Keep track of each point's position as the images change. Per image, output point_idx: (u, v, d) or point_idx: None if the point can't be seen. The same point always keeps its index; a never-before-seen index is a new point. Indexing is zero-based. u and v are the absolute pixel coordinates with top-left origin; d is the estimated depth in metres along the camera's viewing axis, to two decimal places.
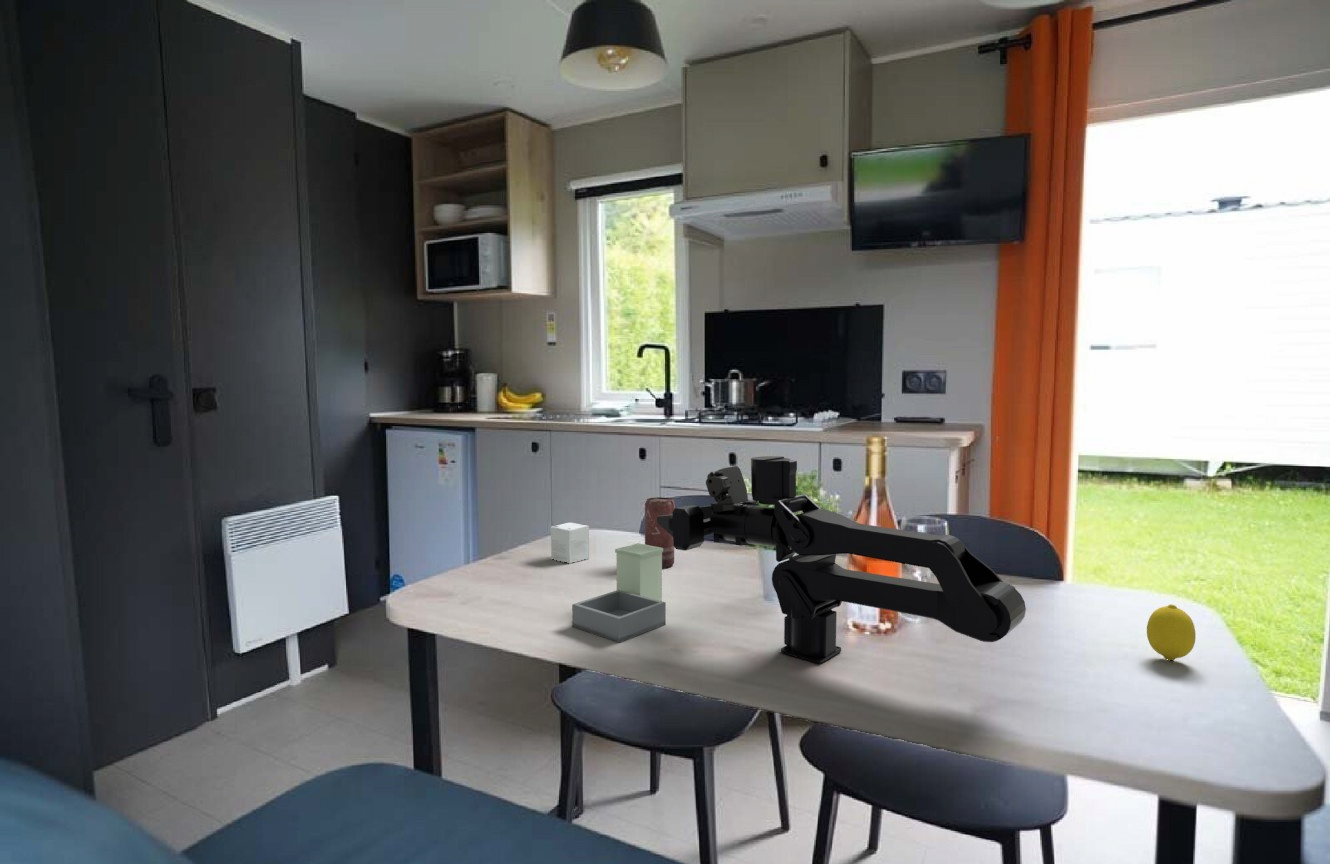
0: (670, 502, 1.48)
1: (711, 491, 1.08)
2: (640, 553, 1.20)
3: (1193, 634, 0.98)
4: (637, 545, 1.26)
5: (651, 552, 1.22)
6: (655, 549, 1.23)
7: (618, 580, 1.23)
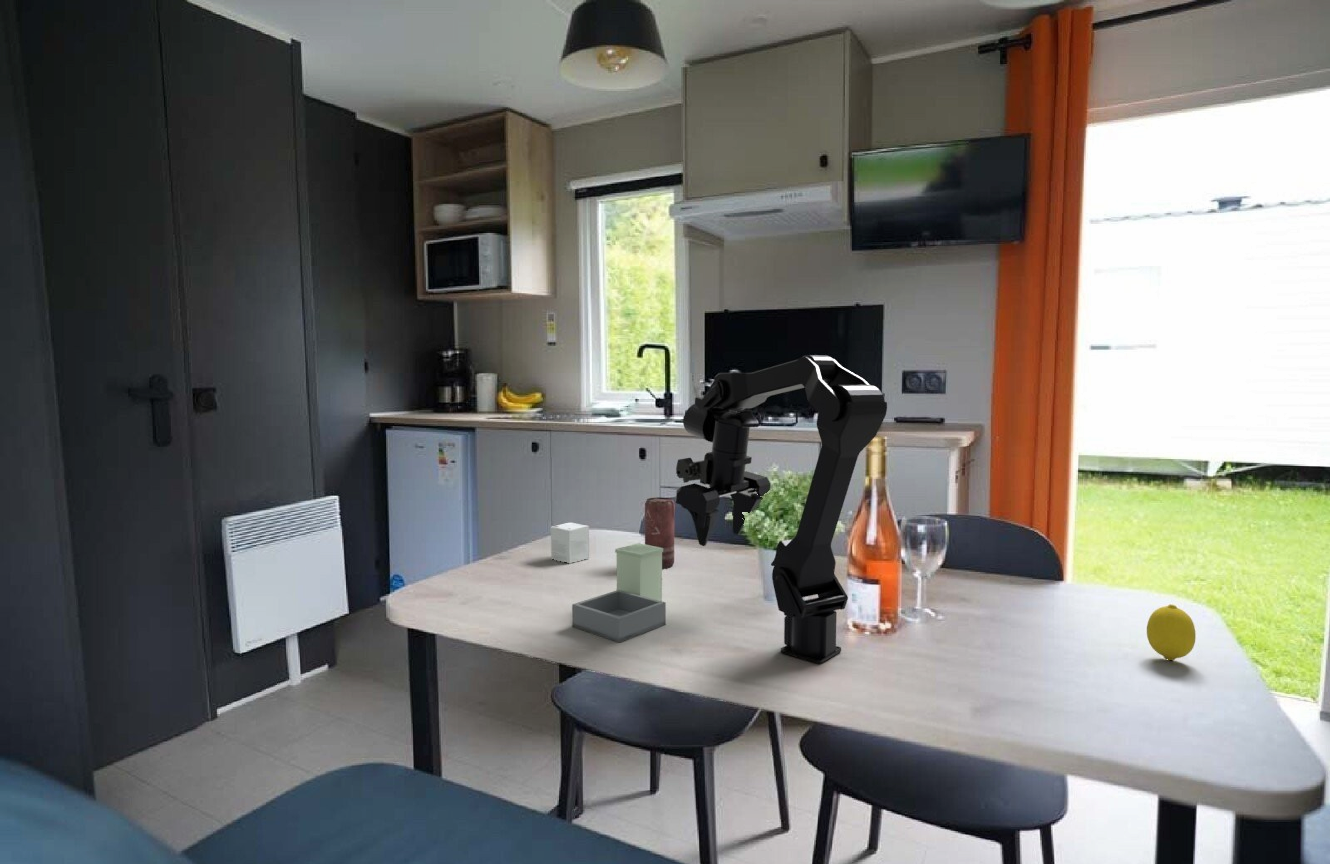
0: (670, 502, 1.48)
1: (685, 473, 1.19)
2: (640, 553, 1.20)
3: (1193, 634, 0.98)
4: (637, 545, 1.26)
5: (651, 552, 1.22)
6: (655, 549, 1.23)
7: (618, 580, 1.23)
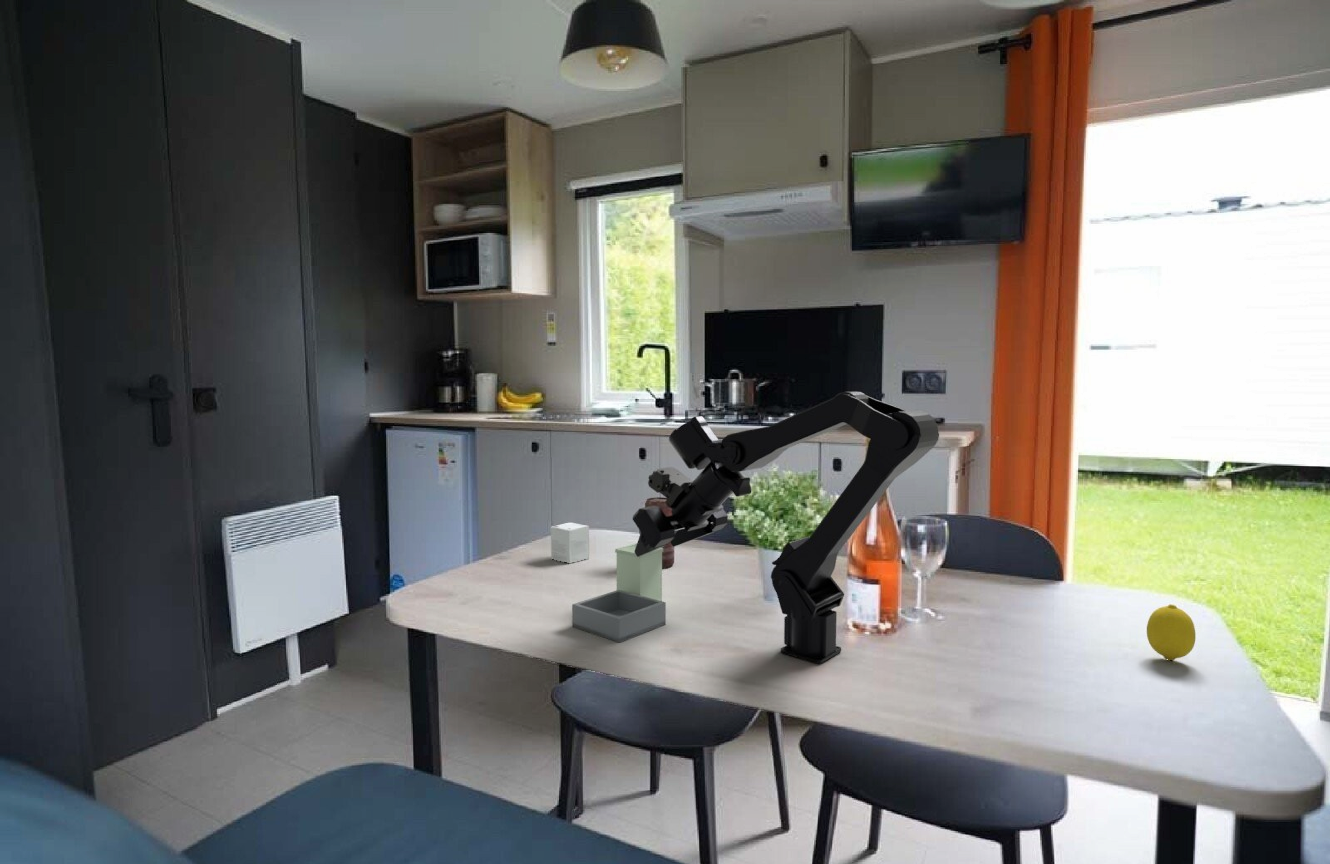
0: None
1: (656, 488, 1.15)
2: None
3: (1193, 634, 0.98)
4: None
5: (651, 552, 1.22)
6: None
7: (618, 580, 1.23)
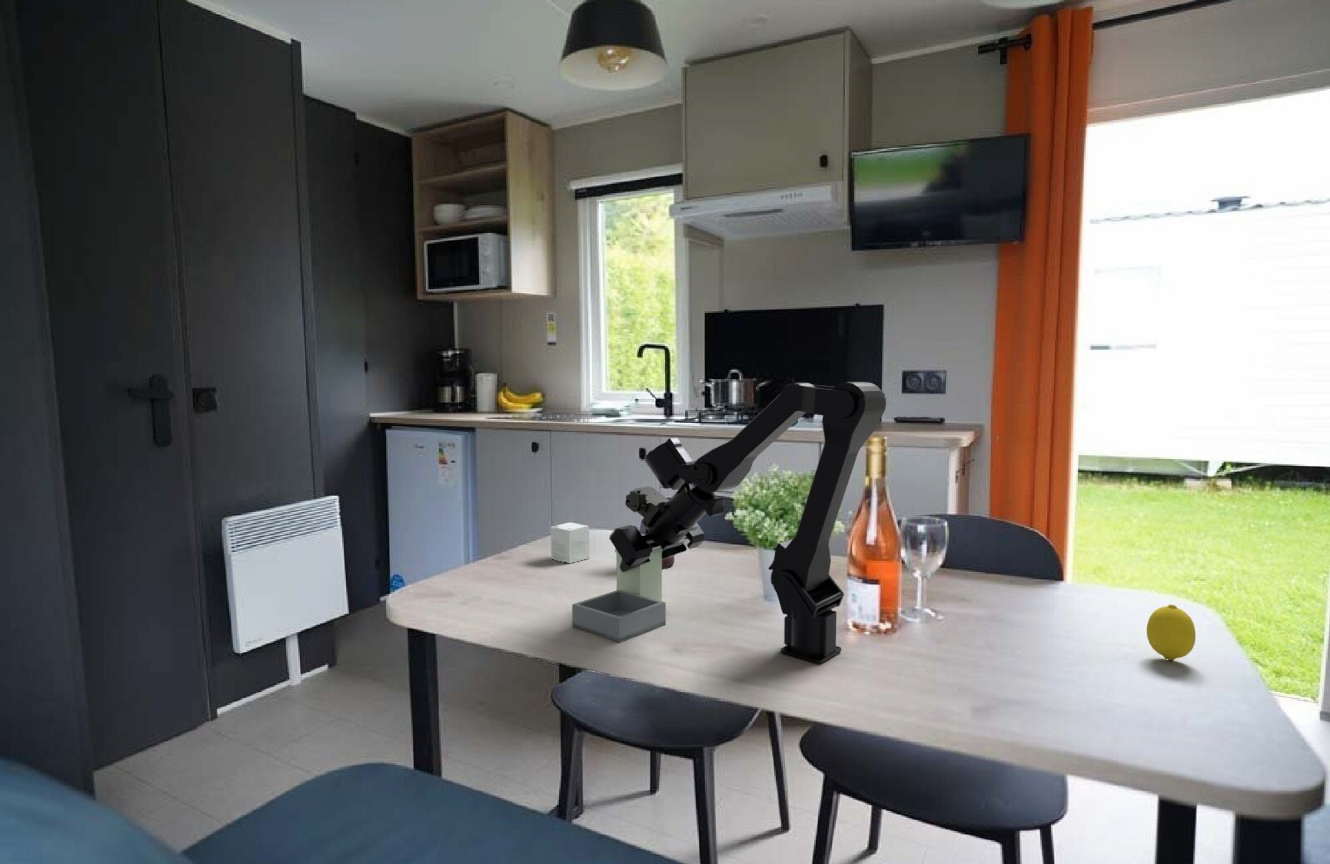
0: None
1: (633, 507, 1.18)
2: None
3: (1193, 634, 0.98)
4: None
5: None
6: (655, 549, 1.23)
7: (618, 580, 1.23)
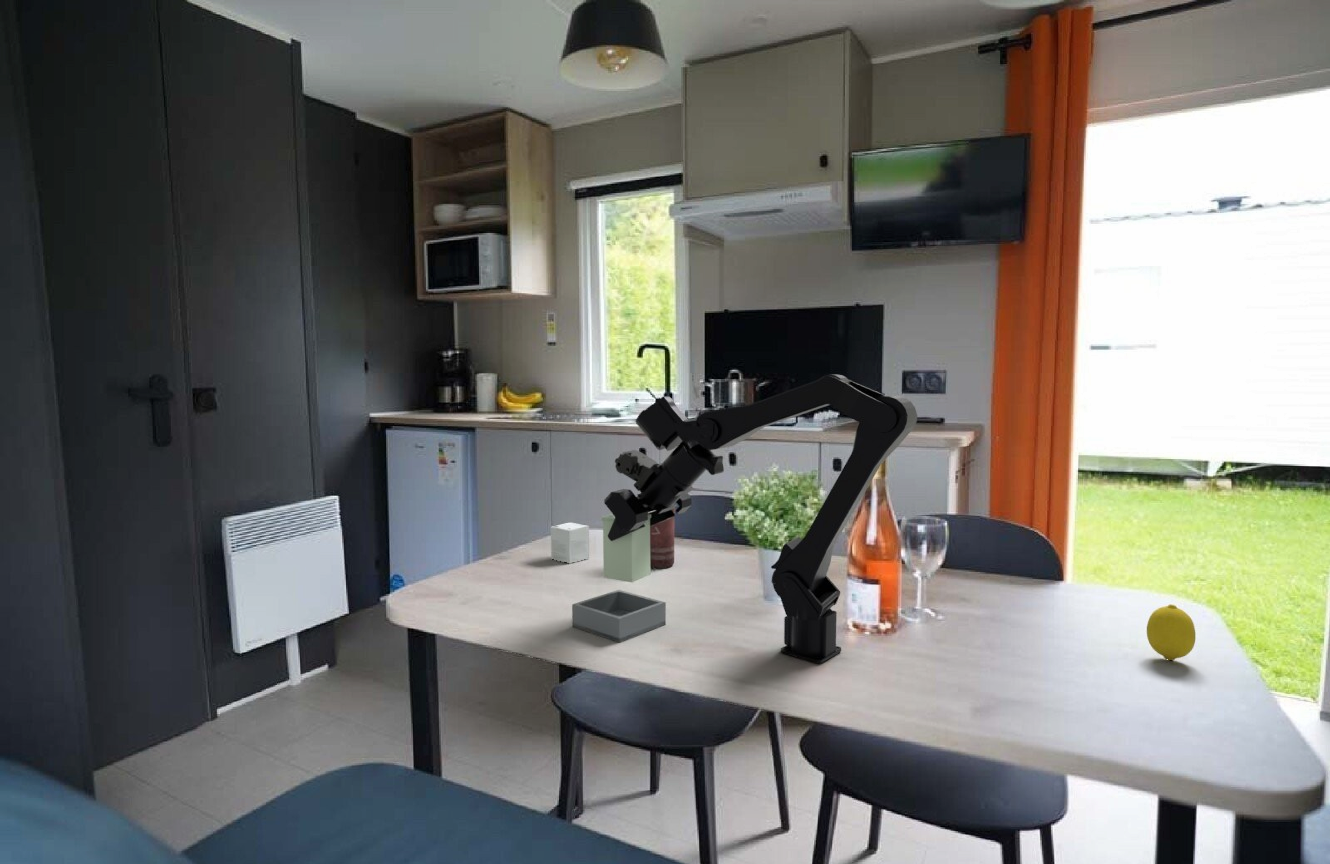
0: None
1: (625, 471, 1.12)
2: None
3: (1193, 634, 0.98)
4: None
5: None
6: None
7: (605, 550, 1.17)
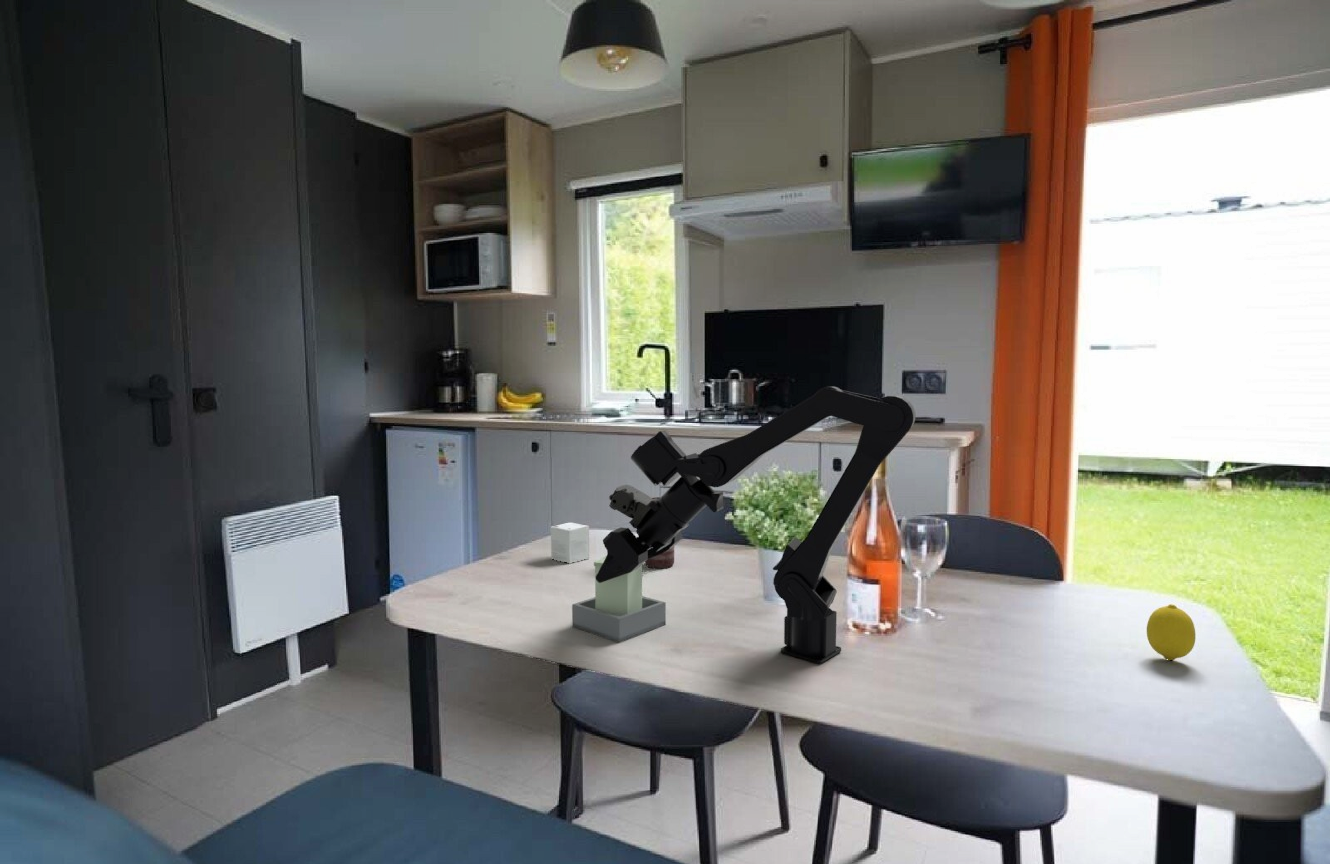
0: None
1: (621, 508, 1.08)
2: None
3: (1193, 634, 0.98)
4: None
5: None
6: None
7: (598, 596, 1.12)
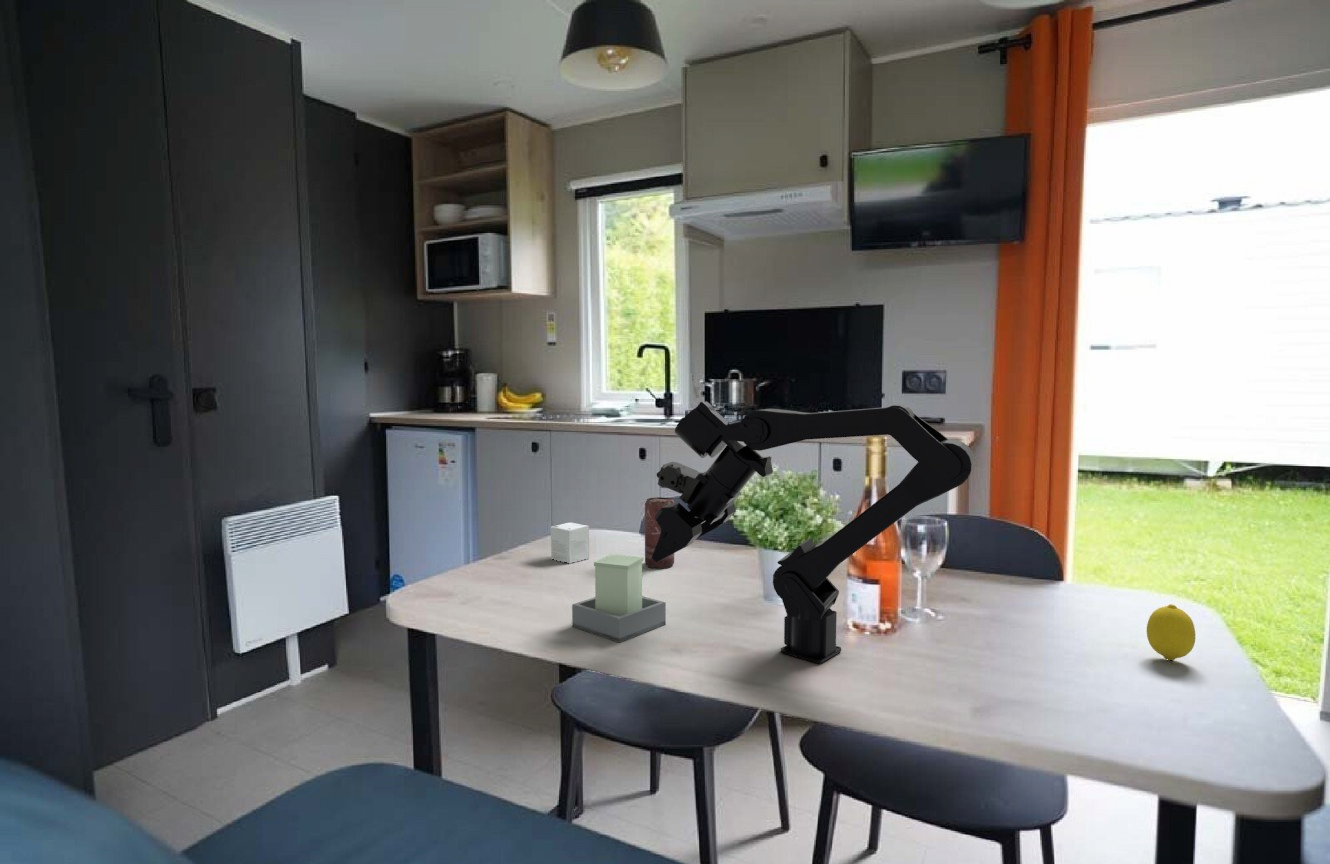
0: (670, 502, 1.48)
1: (670, 484, 1.07)
2: (626, 564, 1.10)
3: (1193, 634, 0.98)
4: (612, 556, 1.15)
5: (635, 562, 1.12)
6: (637, 559, 1.14)
7: (598, 596, 1.12)
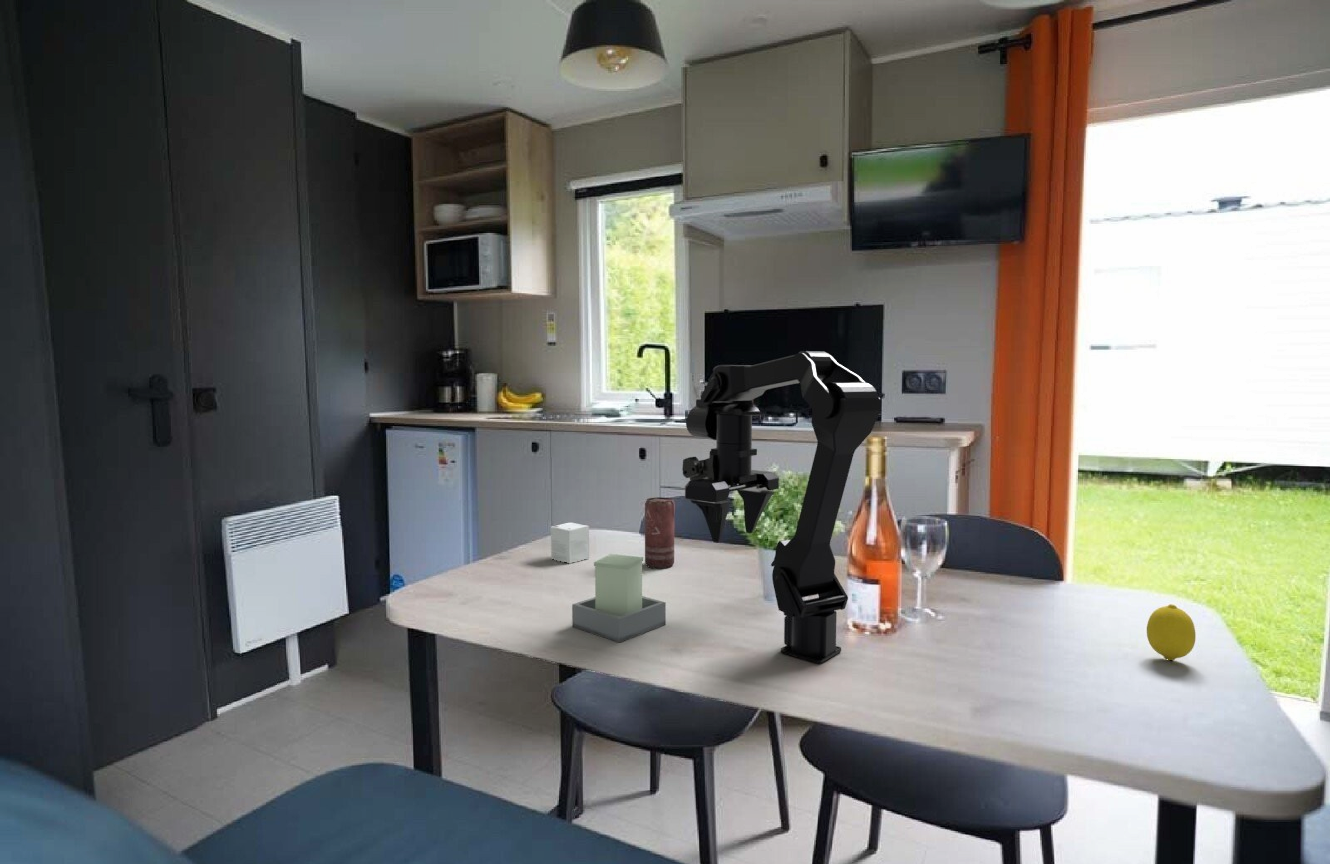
0: (670, 502, 1.48)
1: (692, 472, 1.18)
2: (626, 564, 1.10)
3: (1193, 634, 0.98)
4: (612, 556, 1.15)
5: (635, 562, 1.12)
6: (637, 559, 1.14)
7: (598, 596, 1.12)
